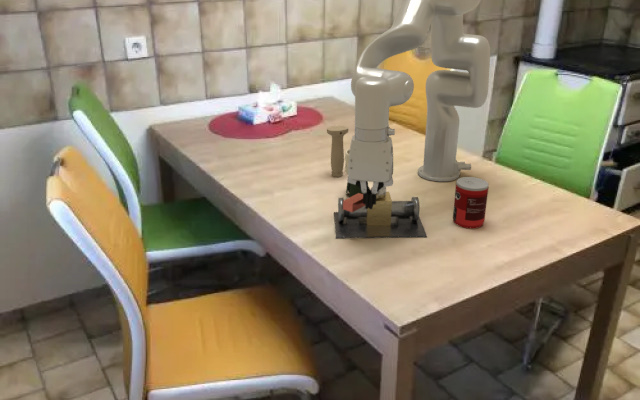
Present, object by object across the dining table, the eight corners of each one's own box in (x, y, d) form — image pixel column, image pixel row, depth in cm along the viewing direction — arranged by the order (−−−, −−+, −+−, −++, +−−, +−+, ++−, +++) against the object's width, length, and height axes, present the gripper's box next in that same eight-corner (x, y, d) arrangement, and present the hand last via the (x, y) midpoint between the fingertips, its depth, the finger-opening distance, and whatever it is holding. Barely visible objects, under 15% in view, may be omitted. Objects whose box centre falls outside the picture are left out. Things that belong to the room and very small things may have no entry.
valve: (417, 212, 155) (418, 188, 153) (426, 237, 143) (428, 211, 140) (333, 213, 155) (334, 189, 152) (336, 238, 142) (336, 212, 140)
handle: (350, 176, 179) (350, 129, 173) (330, 179, 177) (331, 131, 171) (343, 171, 183) (343, 124, 177) (324, 174, 181) (324, 127, 175)
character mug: (335, 191, 169) (336, 148, 163) (356, 186, 172) (356, 143, 167) (358, 204, 160) (359, 159, 155) (379, 198, 164) (380, 154, 158)
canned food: (460, 213, 155) (464, 174, 151) (489, 221, 150) (494, 181, 146) (446, 223, 150) (450, 183, 145) (475, 232, 145) (480, 191, 141)
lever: (376, 191, 150) (377, 182, 149) (388, 194, 148) (389, 186, 147) (341, 209, 140) (341, 200, 139) (353, 213, 138) (353, 204, 137)
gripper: (406, 129, 134) (402, 202, 142) (341, 126, 137) (341, 197, 145) (403, 140, 127) (399, 216, 135) (335, 136, 130) (335, 210, 138)
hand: (369, 206), depth 140 cm, fingers closed
